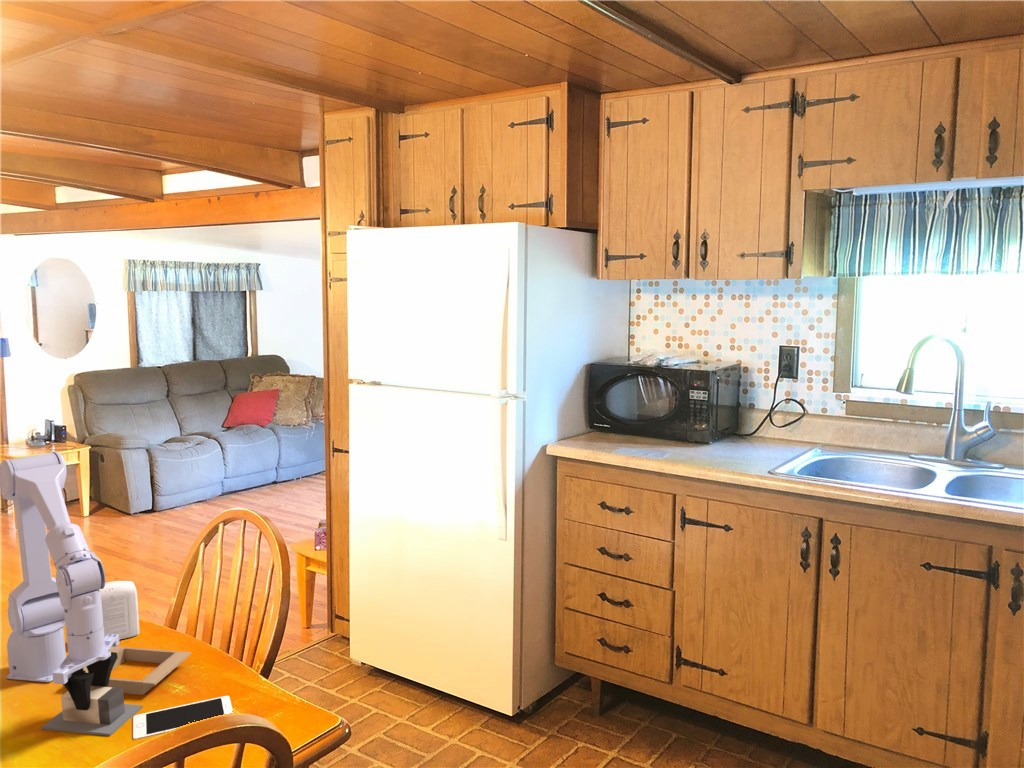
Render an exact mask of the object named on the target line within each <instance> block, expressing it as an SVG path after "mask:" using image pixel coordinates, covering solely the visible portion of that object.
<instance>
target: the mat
mask: <svg viewBox="0 0 1024 768" xmlns="http://www.w3.org/2000/svg"><path fill="white" fill-rule="evenodd" d="M124 707H125V713H123V714H122V715H121V716H120V717H119V718H118V719H116V720H115V721H114V722H113V723H112V724H111V725H108V724H98V723H87V722H77V721H66V720H63V711H62V710H61V711H60V712H58V713H57V714H56V715H55V716H53V717H52V718H51V719H50V720H48V721H47V722H46V723H44V724H43V725H42V726H40V730H44V731H55V732H65V733H66V732H67V733H75V734H87V735H96V736H97V735H98V736H106V737H107V736H108V737H111V736H112V735H113V734H114V733H115V732H117V731H118V730H119V729H120V728H121V727H123V725H124V724H125V723H127V722H128V721H129V720H130V719H132V718H133V716H135V715H137V713H138V712H139V711H140V710H141V709H142V708H143V705H140V704H133V703H132V704H131V703H124Z"/></svg>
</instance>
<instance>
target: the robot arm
mask: <svg viewBox="0 0 1024 768" xmlns="http://www.w3.org/2000/svg"><path fill="white" fill-rule="evenodd" d="M66 464H67V463H66V461H65V458H64V456H63V455H62V454H61V453H60V452H59V451H52V452H49V453H42V454H35V455H29V456H24V457H18V458H11V459H7V458H6V459H3V460H2V461H1V462H0V495H1V496H2V499H3V500H7V501H12V504H13V506H14V512H15V520H16V528H17V530H16V531H17V536H18V538H17V539H18V546H19V554H20V561H21V562H20V563H21V572H22V573H21V574H22V579H23V580H22V582H20V584H19V585H17V586H16V587H15V588H14V589H13V590H12V591H11V592H10V593H9V594H8V597H7V602H8V605H7V618H8V623H9V626H10V629H11V633H10V634H9V636H8V638H7V643H6V652H7V661H8V671H9V674H7V675H6V679H7V680H17V681H28V682H29V681H30V682H41V683H51V682H52V681H53V684H55V685H63V687H64V688H65V689H66V690H67V691H68V692H69V694H70V696H71V698H72V700H73V702H74V704H75V707H76V709H77V710H88V709H89V707H90V689H91V686H101V687H108V684H109V679H110V678H111V674H112V671H113V670H114V669H113V666H114V664H115V662H116V660H117V658H118V657H117V653H116V652H110V648H111V647H116V646H117V647H119V645H120V640H119V634H108V635H106V636H104V626H103V614H102V602H101V591H100V589H103V588H104V587H105V583H106V574H105V572H106V571H105V569H104V565H103V563H102V560H101V558H99V556H97V555H96V553H95V552H94V551H90V547H89V546H88V543H87V541H86V538H85V536H84V534H83V530H82V529H81V526H79V525H78V524H75V523H72V522H71V519H70V515H69V512H68V510H67V509H68V508H67V506H66V502H65V498H64V495H63V489H64V487H65V484H66V479H67V476H68V475H67V474H68V473H67V465H66ZM47 530H48V531H47ZM50 557H51V559H52V562H53V564H54V567H55V570H56V572H55V577H53V576H52V575H53V574H52V566H51V559H50ZM64 627H65V630H64ZM65 634H66V635H65ZM65 636H66V642H65ZM66 645H67V653H68V654H66ZM84 667H87V670H88V673H86V671H85V670H84V671H83V668H84ZM112 669H113V670H112Z"/></svg>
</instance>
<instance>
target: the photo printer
mask: <svg viewBox="0 0 1024 768" xmlns="http://www.w3.org/2000/svg"><path fill="white" fill-rule="evenodd" d="M100 591H101V602H102V614H103V626H104V636H106V635H108V634H119V641H120V640H122V639H123V640H124V639H127V638H133V637H136V636H138V635H139V634H140V620H139V605H138V591H137V588H136V586H135V583H134V581H131V580H130V581H129V580H116V581H115V580H114V581H108V582H105V587H104V588H103V589H100Z"/></svg>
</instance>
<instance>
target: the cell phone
mask: <svg viewBox="0 0 1024 768" xmlns="http://www.w3.org/2000/svg"><path fill="white" fill-rule="evenodd" d="M230 697H231V696H229V695H223V696H219V697H214V698H209V699H205V700H204V699H203V700H200V701H195V702H191V703H187V704H181V705H176V706H173V707H168V708H167V707H166V708H164V709H158V710H154V711H148V712H145V713H139V714H134V715H133V716H132V738H133V740H140V739H144V738H148V737H153V736H158V735H162V734H165V732H167V733H170V732H169V731H171V730H174V729H176V728H179V727H180V726H183V725H186V724H189V723H188V722H190V723H192V722H196V721H200V720H203V719H207V718H211V717H214V716H218V715H223V714H230V713H233V714H234V710H233V707H232V701H231V698H230ZM232 711H233V712H232ZM194 720H195V721H194ZM164 731H165V732H164ZM160 733H161V734H160Z"/></svg>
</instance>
